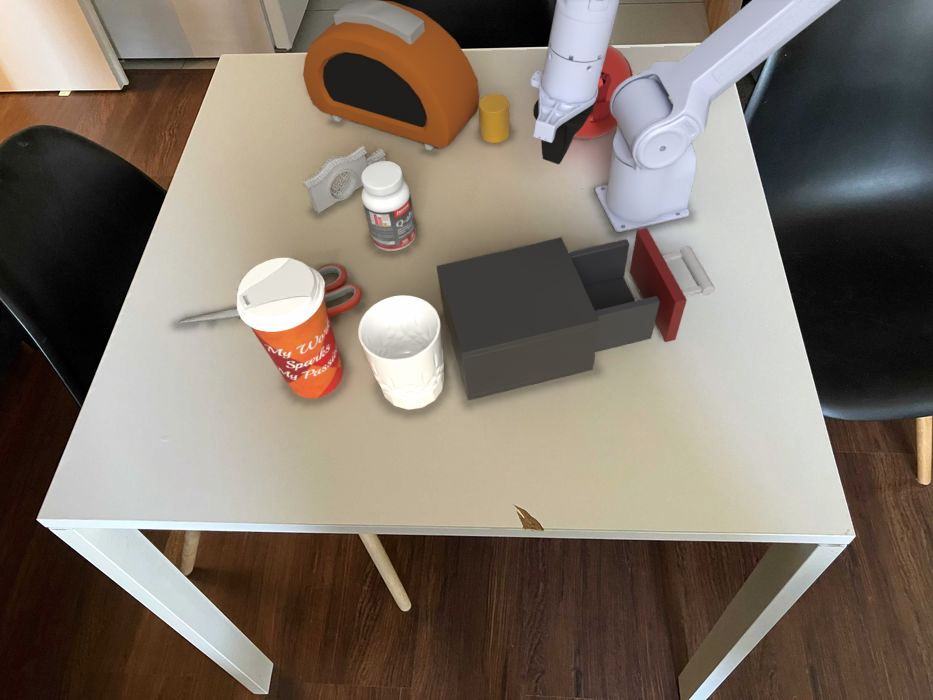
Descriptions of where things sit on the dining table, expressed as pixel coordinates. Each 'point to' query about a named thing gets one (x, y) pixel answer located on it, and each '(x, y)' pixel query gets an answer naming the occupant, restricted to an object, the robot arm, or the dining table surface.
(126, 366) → the dining table surface
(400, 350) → the white cup
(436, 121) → the alarm clock
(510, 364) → the dark drawer box
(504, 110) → the yellow cylinder
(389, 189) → the pill bottle
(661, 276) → the drawer
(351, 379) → the dining table surface
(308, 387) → the coffee cup
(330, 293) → the scissors
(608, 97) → the ball
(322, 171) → the lattice window wall
